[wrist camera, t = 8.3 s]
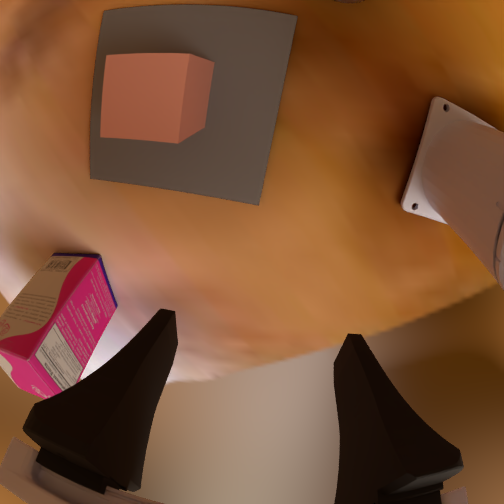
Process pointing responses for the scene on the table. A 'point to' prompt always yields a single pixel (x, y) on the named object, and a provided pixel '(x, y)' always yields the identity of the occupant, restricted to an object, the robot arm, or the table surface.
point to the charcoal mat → (219, 105)
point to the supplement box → (56, 323)
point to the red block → (155, 96)
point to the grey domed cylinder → (349, 1)
